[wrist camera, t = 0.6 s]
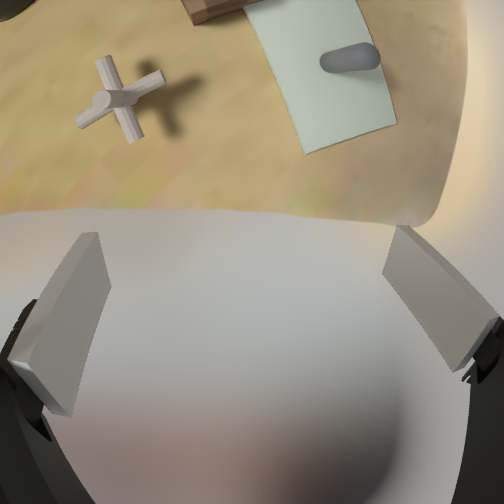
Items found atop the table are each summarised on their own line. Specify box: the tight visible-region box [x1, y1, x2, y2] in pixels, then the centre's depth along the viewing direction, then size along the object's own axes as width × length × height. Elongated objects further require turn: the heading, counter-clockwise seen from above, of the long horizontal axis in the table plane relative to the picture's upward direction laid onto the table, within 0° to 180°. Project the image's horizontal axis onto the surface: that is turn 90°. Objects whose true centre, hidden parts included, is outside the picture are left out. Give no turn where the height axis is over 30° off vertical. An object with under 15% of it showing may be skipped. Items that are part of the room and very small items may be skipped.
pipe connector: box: [75, 55, 167, 144], centre depth 23 cm, size 10×10×10 cm
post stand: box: [243, 0, 397, 154], centre depth 24 cm, size 20×14×10 cm
